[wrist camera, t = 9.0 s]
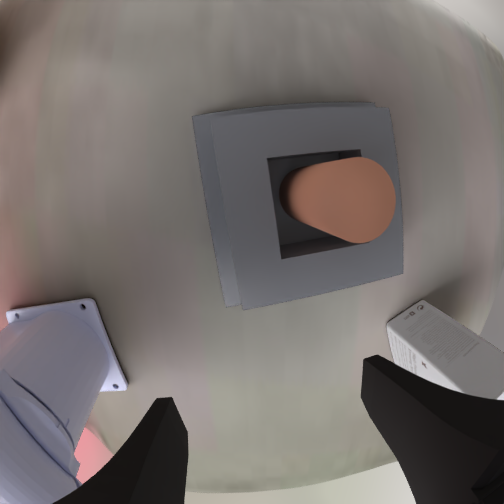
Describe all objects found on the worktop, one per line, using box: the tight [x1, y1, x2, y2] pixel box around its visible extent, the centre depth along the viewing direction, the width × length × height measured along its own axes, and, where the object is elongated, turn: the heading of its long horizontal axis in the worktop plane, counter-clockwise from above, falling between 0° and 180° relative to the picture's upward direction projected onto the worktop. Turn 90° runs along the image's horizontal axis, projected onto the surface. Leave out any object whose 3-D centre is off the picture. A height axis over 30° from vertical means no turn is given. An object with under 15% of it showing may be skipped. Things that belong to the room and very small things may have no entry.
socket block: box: [192, 102, 403, 310], centre depth 17 cm, size 12×12×4 cm
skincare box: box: [387, 300, 504, 400], centre depth 17 cm, size 6×4×12 cm
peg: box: [279, 157, 396, 243], centre depth 14 cm, size 3×3×7 cm
